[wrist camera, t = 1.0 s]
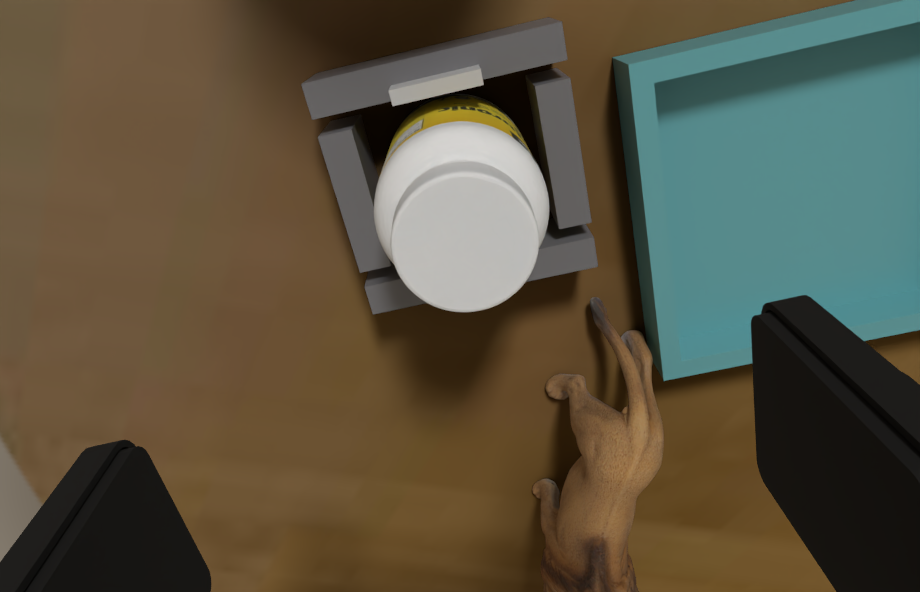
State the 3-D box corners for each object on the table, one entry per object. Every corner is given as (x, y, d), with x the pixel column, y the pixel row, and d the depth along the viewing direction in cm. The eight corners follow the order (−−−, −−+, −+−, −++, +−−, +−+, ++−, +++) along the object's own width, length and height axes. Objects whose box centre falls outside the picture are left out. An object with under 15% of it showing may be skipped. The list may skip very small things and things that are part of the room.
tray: (970, -27, 24) (1022, -28, 22) (942, 293, 30) (981, 317, 28) (612, 57, 25) (628, 64, 23) (648, 352, 31) (663, 380, 28)
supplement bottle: (553, 146, 27) (609, 229, 18) (469, 250, 28) (482, 372, 19) (443, 59, 25) (443, 101, 16) (362, 174, 27) (322, 268, 18)
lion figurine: (629, 541, 36) (684, 708, 27) (528, 547, 36) (553, 715, 27) (648, 288, 29) (728, 406, 21) (526, 294, 29) (559, 415, 21)
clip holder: (548, 17, 25) (568, 23, 21) (583, 239, 28) (604, 279, 24) (316, 73, 25) (293, 89, 21) (379, 283, 29) (369, 328, 25)
